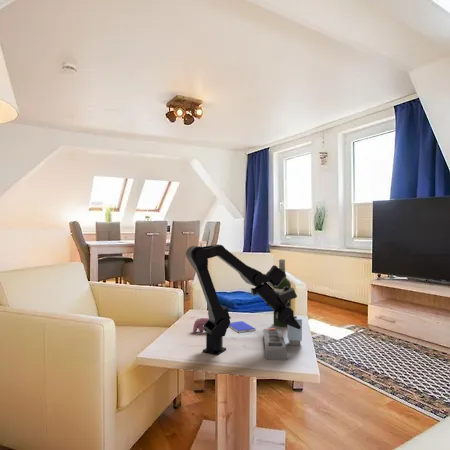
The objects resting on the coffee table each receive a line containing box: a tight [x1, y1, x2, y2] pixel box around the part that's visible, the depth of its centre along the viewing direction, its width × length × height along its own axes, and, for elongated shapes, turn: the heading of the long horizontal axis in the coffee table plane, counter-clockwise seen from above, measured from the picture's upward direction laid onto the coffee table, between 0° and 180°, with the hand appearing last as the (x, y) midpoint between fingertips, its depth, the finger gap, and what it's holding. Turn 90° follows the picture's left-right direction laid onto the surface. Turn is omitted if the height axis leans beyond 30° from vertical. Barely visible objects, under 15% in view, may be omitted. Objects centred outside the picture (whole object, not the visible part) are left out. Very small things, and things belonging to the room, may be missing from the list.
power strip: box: [263, 327, 288, 361], centre depth 129 cm, size 31×7×4 cm, turn 176°
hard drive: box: [228, 320, 257, 334], centre depth 150 cm, size 2×8×12 cm
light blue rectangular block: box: [286, 315, 303, 346], centre depth 129 cm, size 4×5×11 cm
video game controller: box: [192, 317, 209, 334], centre depth 144 cm, size 10×5×7 cm, turn 84°
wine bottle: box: [272, 258, 292, 328], centre depth 155 cm, size 8×8×30 cm
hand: (298, 324), depth 129 cm, fingers open, 9 cm apart
